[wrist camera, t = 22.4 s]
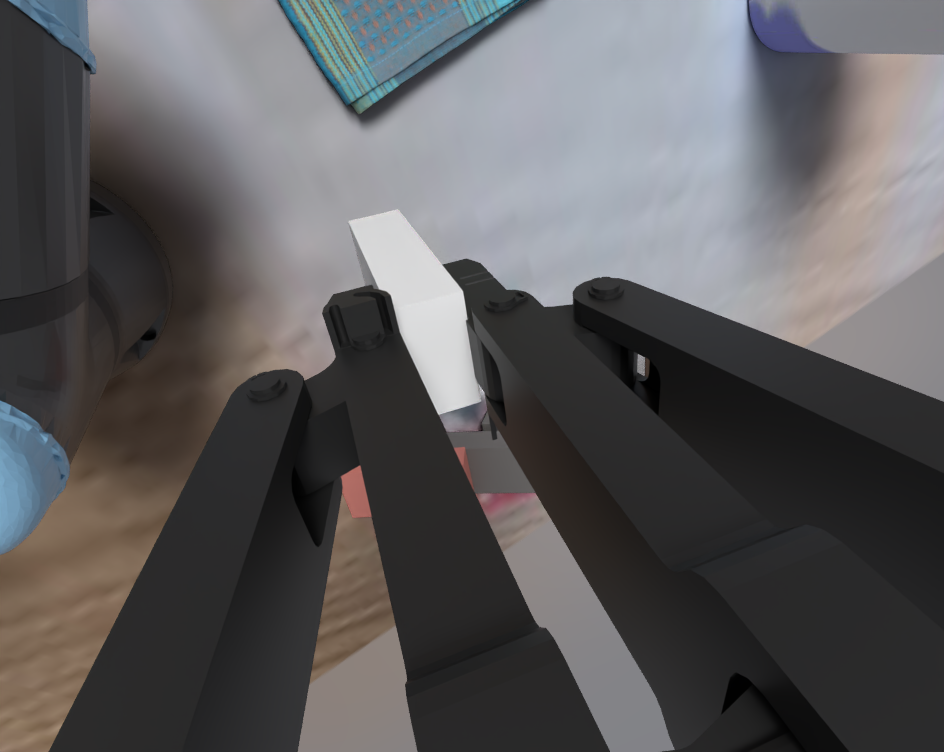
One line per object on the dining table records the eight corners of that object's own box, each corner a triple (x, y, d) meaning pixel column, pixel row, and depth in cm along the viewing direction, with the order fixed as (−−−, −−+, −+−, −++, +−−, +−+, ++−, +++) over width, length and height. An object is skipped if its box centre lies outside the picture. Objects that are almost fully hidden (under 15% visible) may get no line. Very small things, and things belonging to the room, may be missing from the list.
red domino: (341, 456, 52) (465, 446, 51) (358, 499, 55) (474, 491, 54) (335, 474, 50) (463, 465, 49) (352, 517, 54) (473, 510, 52)
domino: (424, 493, 55) (544, 492, 53) (412, 449, 52) (538, 446, 49) (429, 476, 57) (544, 474, 55) (417, 433, 54) (539, 429, 51)
